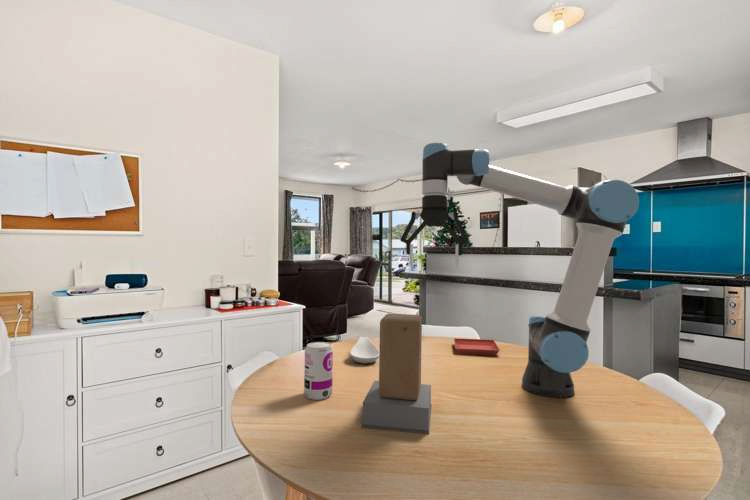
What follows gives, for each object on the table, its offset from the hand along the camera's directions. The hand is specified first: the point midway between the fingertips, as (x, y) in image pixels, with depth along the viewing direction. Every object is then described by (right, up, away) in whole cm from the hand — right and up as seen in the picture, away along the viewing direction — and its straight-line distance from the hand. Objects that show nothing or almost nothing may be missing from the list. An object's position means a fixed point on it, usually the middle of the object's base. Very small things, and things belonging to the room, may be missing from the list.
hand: (433, 266), depth 117 cm
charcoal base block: (-12, -39, -16) cm, 43 cm away
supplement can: (-35, -38, -3) cm, 52 cm away
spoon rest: (-22, -39, +38) cm, 59 cm away
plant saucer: (+26, -39, +51) cm, 70 cm away
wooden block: (-11, -33, -16) cm, 38 cm away
